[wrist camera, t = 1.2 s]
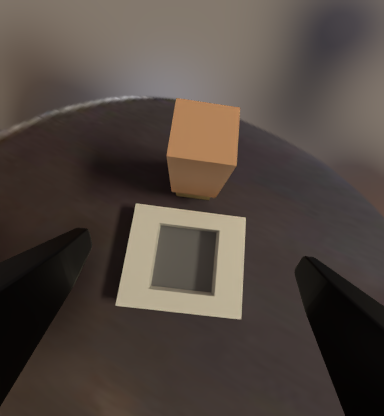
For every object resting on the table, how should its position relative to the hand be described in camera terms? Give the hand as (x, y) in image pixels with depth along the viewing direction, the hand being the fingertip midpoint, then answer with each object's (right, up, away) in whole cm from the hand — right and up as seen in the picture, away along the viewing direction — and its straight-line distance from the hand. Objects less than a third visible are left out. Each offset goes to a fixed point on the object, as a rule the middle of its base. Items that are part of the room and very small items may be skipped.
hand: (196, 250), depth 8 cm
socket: (-1, -4, +13) cm, 13 cm away
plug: (0, +5, +15) cm, 16 cm away
